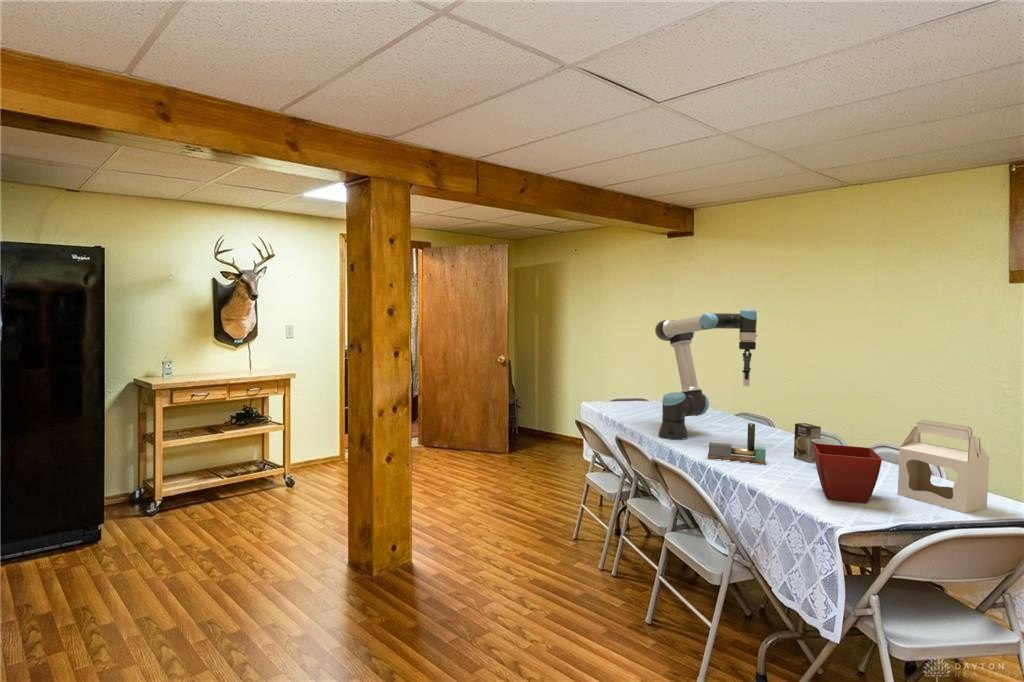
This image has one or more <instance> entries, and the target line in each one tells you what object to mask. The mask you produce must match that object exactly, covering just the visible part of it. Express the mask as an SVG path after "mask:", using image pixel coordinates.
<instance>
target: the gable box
mask: <svg viewBox="0 0 1024 682" xmlns="http://www.w3.org/2000/svg"><path fill="white" fill-rule="evenodd" d="M972 431H973V430H972V428H971V427H970V426H965V425H960V424H954V423H946V422H940V421H935V420H929V419H919V420H918V422H916V426H910V432H909V434H908V436H907V437H906V438H905V440H904V441H903V443H902V444H901V446H900V447H899V451H898V453H899V455H898V458H899V459H898V475H897V477H898V478H897V479H898V481H897V495H898V496H901V497H906V498H908V499H909V498H910V499H913V500H916V501H920V502H924V503H927V504H930V505H934V506H937V507H941V508H945V509H948V510H952V511H956V512H959V513H963V514H968V513H972V512H977V511H980V510H984V509H987V508H988V495H989V494H988V492H989V474H990V473H989V471H990V457H989V456H988V454H987V452H986V451H985V449H984V447H983V446H982V444H981V438H980V437H977V436H975V435H973V432H972ZM921 433H923V434H931V435H937V436H940V437H941V436H943V437H946V438H954V439H958V440H963V441H967V442H968V450H962V449H957V448H952V447H949V446H947V447H946V446H942V445H936V444H931V443H927V442H922V440H921V439H922V438H921ZM930 465H931V466H934V467H939V468H940V467H941V468H948V469H952V470H954V471H955V472H956V473H957V478H956V480H955V482H954V483H953V486H952V487H951V486H938V485H934V484H933V483H932V481H931V478H932V470H931V466H930Z"/></svg>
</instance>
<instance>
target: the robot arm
mask: <svg viewBox="0 0 1024 682" xmlns="http://www.w3.org/2000/svg"><path fill="white" fill-rule="evenodd" d="M757 315H758V314H757V310H756V309H740V311H739V313H723V312H722V313H719V312H718V313H714V312H706V313H702V314H701V315H696V316H692V317H687V318H681V319H663V320H660V321H659V322H658V323H656V325H655V328H654V329H655V330H654V332H655V335H656V337H657V338H658V339H660V340H662V341H665V342H670V343H669V344H670V346H671V347H672V348H673V349H674V356H675V360H676V366H677V369H678V374H679V381H680V386H681V391H680V392H677V391H676V392H668V393H665V394H664V395H663V397H662V408H661V409H662V410H661V411H662V414H661V417H662V418H661V419H662V420H661V421H662V422H661V424H660V428H659V430H658V437H659V436H660V438H662V437H663V438H662V439H666V438H670V439H669V440H675V439H681V440H683V439H682V438H687V437H688V435H689V433H688V430H687V426H686V421H685V420H686V417H698V416H703V415H704V414H706V413H707V410H708V409H709V407H710V400H709V398H708V396H706V394H704V393H703V391H702V388H700V387H699V385H698V380H697V375H696V371H695V366H694V365H695V364H694V361H693V360H694V359H693V355H692V349H691V343H692V342H693V340H692V339H693V338H694V335H695V332H699V331H700V332H701V331H706V330H707V331H708V330H713V329H714V330H715V329H728V330H729V329H731V330H732V329H733V330H735V329H738V330H739V335H738V340H739V342H738V349H739V350H744V351H743V353H742V360H743V361H742V362H743V370H741V371H742V373H743V377H742V386H743V387H750V380H751V377H750V376H751V374H750V373H751V361H752V355H753V354H752V353H751V350H756V347H757V343H756V340H757V337H758V334H757V323H758V322H757V320H758V316H757ZM687 439H688V438H687Z"/></svg>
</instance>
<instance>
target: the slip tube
mask: <svg viewBox="0 0 1024 682" xmlns="http://www.w3.org/2000/svg"><path fill="white" fill-rule="evenodd" d="M755 441H756V423H752V422H750V423H749V422H748V423H747V442H746V443H747V444H746V448H743V447H732V448H731V455H741V456H752V457H755V456H756V450H755V448H756V446H755V444H756V443H755Z"/></svg>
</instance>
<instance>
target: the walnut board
mask: <svg viewBox="0 0 1024 682" xmlns="http://www.w3.org/2000/svg"><path fill="white" fill-rule="evenodd" d="M706 457H707V458H708V459H707V460H713V459H721V460H720V461H723V460H730V461H729V462H733V461H740V462H739V463H743V462H749V463H748V464H752V463H759V464H758V465H762V464H765V465H766V460H765V461H761V460H755V456H745V455H735V454H731V457H721V456H711V455H709V451H708V452H707V456H706Z"/></svg>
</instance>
